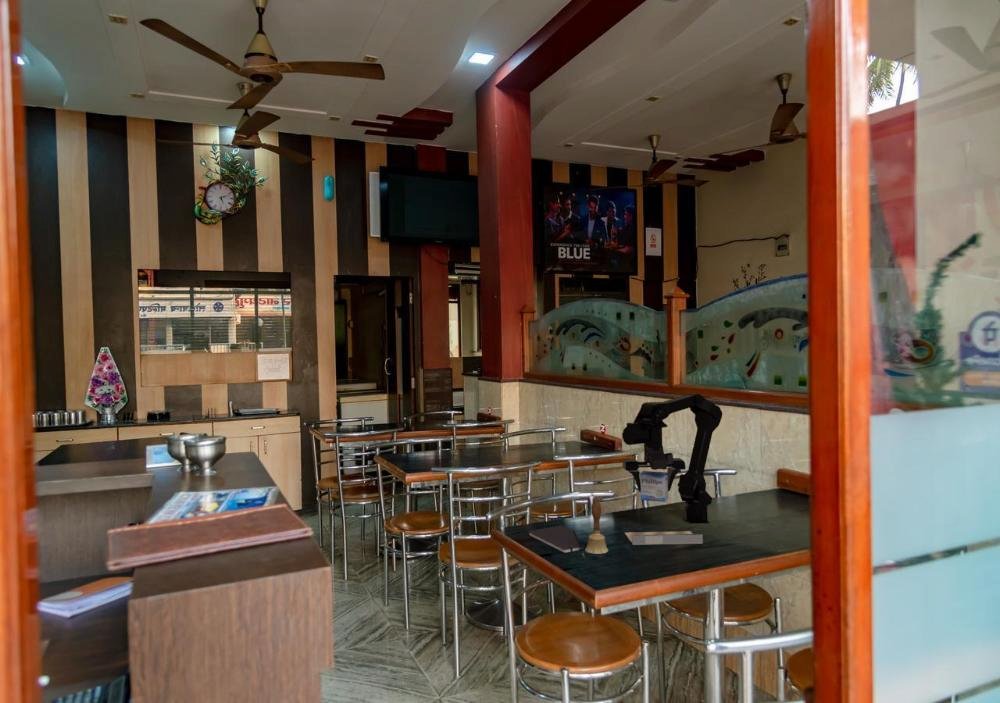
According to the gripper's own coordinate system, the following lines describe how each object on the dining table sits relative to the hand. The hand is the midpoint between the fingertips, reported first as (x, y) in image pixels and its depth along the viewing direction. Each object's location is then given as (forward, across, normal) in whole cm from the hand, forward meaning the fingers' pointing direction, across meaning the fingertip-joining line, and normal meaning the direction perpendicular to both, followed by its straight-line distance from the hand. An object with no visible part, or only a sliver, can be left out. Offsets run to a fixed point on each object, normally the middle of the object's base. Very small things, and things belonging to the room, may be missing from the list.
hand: (654, 491), depth 198 cm
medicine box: (+3, 0, 0) cm, 3 cm away
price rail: (+11, -1, -19) cm, 22 cm away
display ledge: (+12, -1, -13) cm, 18 cm away
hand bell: (+12, -22, -23) cm, 34 cm away
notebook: (+13, -30, -8) cm, 34 cm away
